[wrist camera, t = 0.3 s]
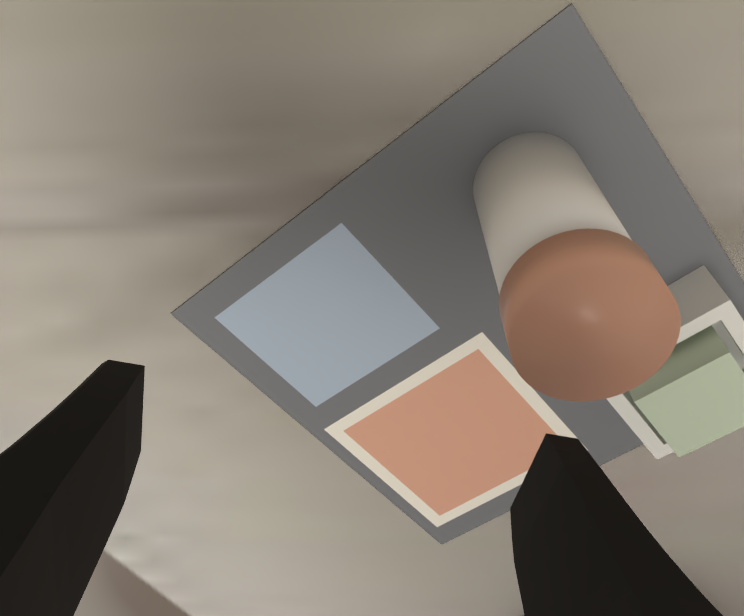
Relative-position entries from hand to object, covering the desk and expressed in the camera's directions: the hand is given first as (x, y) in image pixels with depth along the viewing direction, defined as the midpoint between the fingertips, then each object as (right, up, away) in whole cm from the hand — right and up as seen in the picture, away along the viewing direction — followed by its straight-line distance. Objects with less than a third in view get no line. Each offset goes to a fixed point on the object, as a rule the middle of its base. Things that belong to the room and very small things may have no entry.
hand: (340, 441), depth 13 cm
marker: (+5, +6, +8) cm, 11 cm away
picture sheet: (+4, +1, +11) cm, 12 cm away
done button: (+11, 0, +10) cm, 15 cm away
